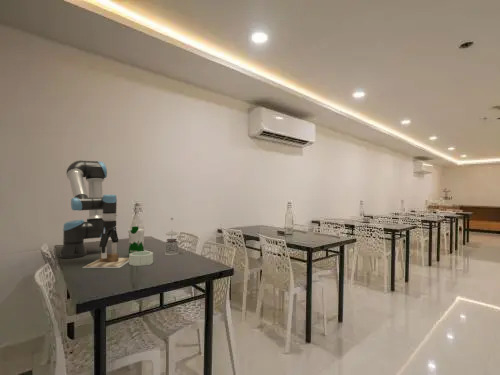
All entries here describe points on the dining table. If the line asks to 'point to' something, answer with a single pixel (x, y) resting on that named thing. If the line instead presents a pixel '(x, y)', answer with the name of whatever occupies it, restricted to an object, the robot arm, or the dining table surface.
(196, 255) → the dining table surface
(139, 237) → the milk carton
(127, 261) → the rubber mat
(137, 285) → the dining table surface
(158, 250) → the dining table surface
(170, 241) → the french press
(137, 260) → the ceramic bowl
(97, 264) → the birch board
